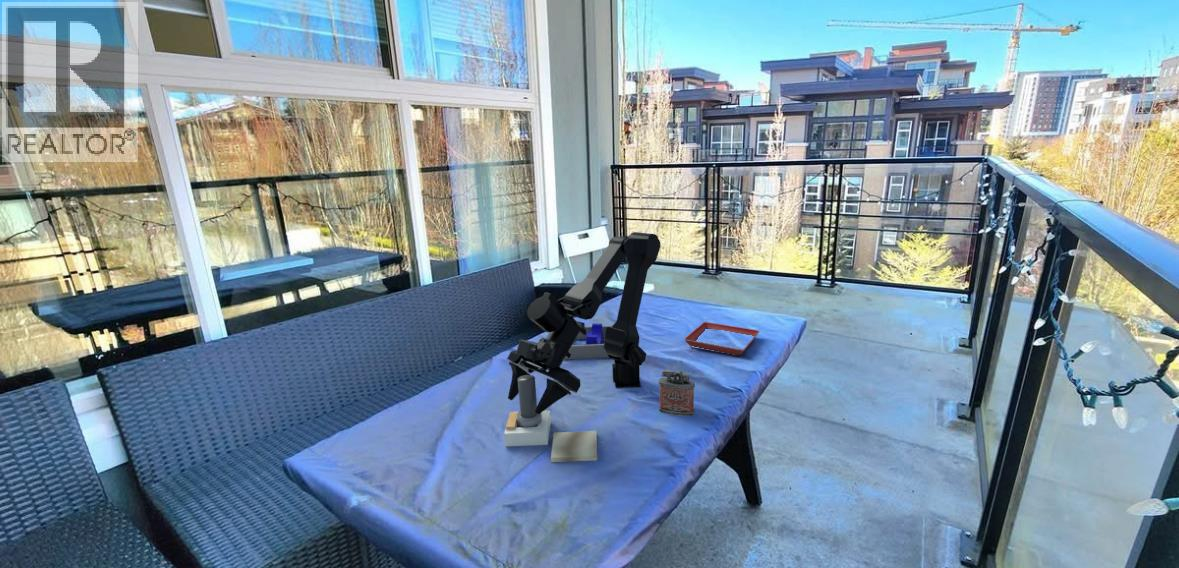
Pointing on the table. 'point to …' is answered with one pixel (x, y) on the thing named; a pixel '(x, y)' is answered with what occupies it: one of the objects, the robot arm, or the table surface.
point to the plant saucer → (706, 325)
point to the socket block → (527, 431)
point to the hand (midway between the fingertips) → (522, 406)
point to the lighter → (676, 393)
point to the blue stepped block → (595, 334)
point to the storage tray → (588, 347)
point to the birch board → (574, 446)
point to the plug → (527, 402)
